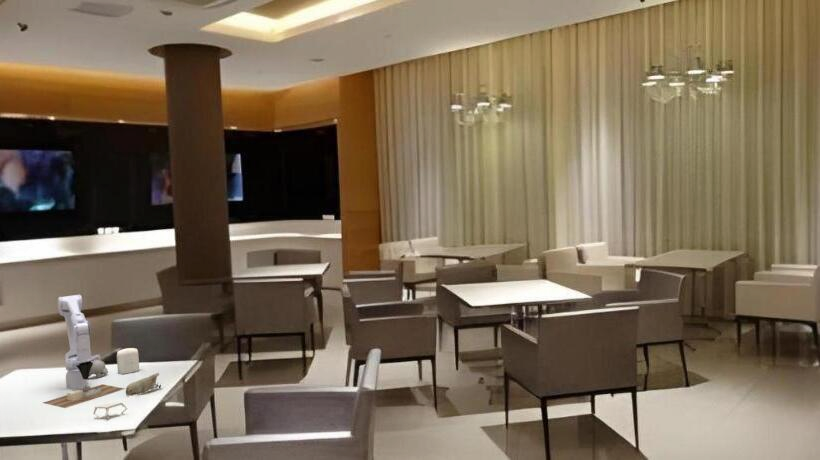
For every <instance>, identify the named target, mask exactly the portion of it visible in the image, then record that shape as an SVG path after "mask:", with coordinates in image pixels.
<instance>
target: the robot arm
mask: <svg viewBox="0 0 820 460" xmlns="http://www.w3.org/2000/svg"><path fill="white" fill-rule="evenodd" d="M82 307H83V297H82V295H81V294H74V295H66V296H58V297H57V308H58V313H59V315H60V316H62V317H64V320H65V325H66V331H67V339H68V343H69V345H68V346H69V351H68V352H66V353H65V355H64V365H65V366H64V367H65V370H66V374H65V383H66V389H67V388H69V389H71V390H75V389H78V388H82V387H85V386H89V383H88V380H89V378H90V376H89V373H90V370H91V367H92V365H93V361H95V360H101V354H95V355H92V352H91V351H92V350H91V341H90V335H91V325H90V322H89V321H88V320H87V319H86V317H85V314H84V313H83V312H81V311H82Z"/></svg>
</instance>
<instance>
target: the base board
mask: <svg viewBox="0 0 820 460" xmlns="http://www.w3.org/2000/svg"><path fill="white" fill-rule="evenodd" d="M95 388H100V389H101V394H100V395H97V396H93V397H90V398H87V399H86V398H80V399H77V400H74V401H71V400H68V397H67V394H66V395H63V396H60V397H56V398H52V399H50V400H46V401H43V402H42V404H46V405H50V406H54V407H59V408H63V409H67V408H69V407H70V408H71V407H73V406H76V405H79V404H83V403H86V402H89V401H91V400H96V399H97V398H101V397H104V396H108V395H111V394H114V393H117V392H120V391H122V390H126V388H123V387H119V386H114V385H107V384H100V385H99V384H98V385H96V386H93V387H90V389H91V390H92V389H95Z"/></svg>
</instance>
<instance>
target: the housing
mask: <svg viewBox="0 0 820 460" xmlns="http://www.w3.org/2000/svg"><path fill="white" fill-rule="evenodd" d="M90 388H91V386H90V385H88V386H85V387H82V388H78V389H72V391H74V390H83V389H84V390H85V391H86V392H83V398H86V399H87V398H90V397H93V396H97V395H100V394H101V389H100V388H95V389H92V390H91V389H90Z"/></svg>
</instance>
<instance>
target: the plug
mask: <svg viewBox="0 0 820 460" xmlns="http://www.w3.org/2000/svg"><path fill="white" fill-rule="evenodd" d="M73 390H74V391H73ZM73 390H71V391H68V392H67V393H66V395H67V397H68V400H71V401H74V400H77V399H80V398H83V392H86V391H85V390H84V389H83V390H75V389H73Z"/></svg>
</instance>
